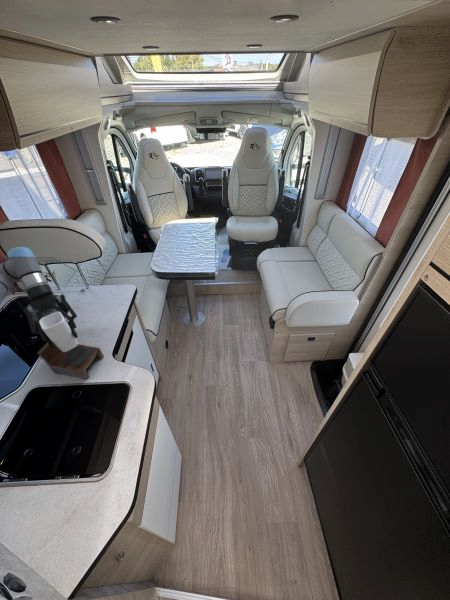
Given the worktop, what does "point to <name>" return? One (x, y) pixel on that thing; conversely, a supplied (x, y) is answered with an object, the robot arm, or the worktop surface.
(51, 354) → the shelf
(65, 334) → the cup
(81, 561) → the worktop surface
